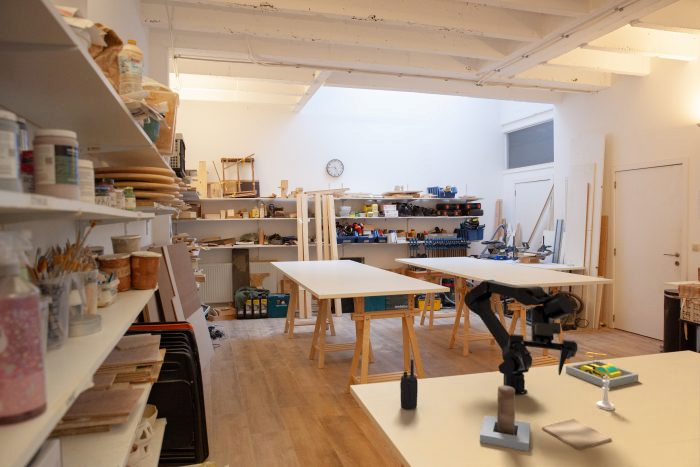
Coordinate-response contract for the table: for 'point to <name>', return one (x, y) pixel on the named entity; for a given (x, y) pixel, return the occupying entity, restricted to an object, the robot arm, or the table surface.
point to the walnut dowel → (506, 410)
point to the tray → (621, 380)
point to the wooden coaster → (576, 434)
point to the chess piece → (605, 396)
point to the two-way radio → (409, 389)
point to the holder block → (505, 439)
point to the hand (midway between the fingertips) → (542, 372)
